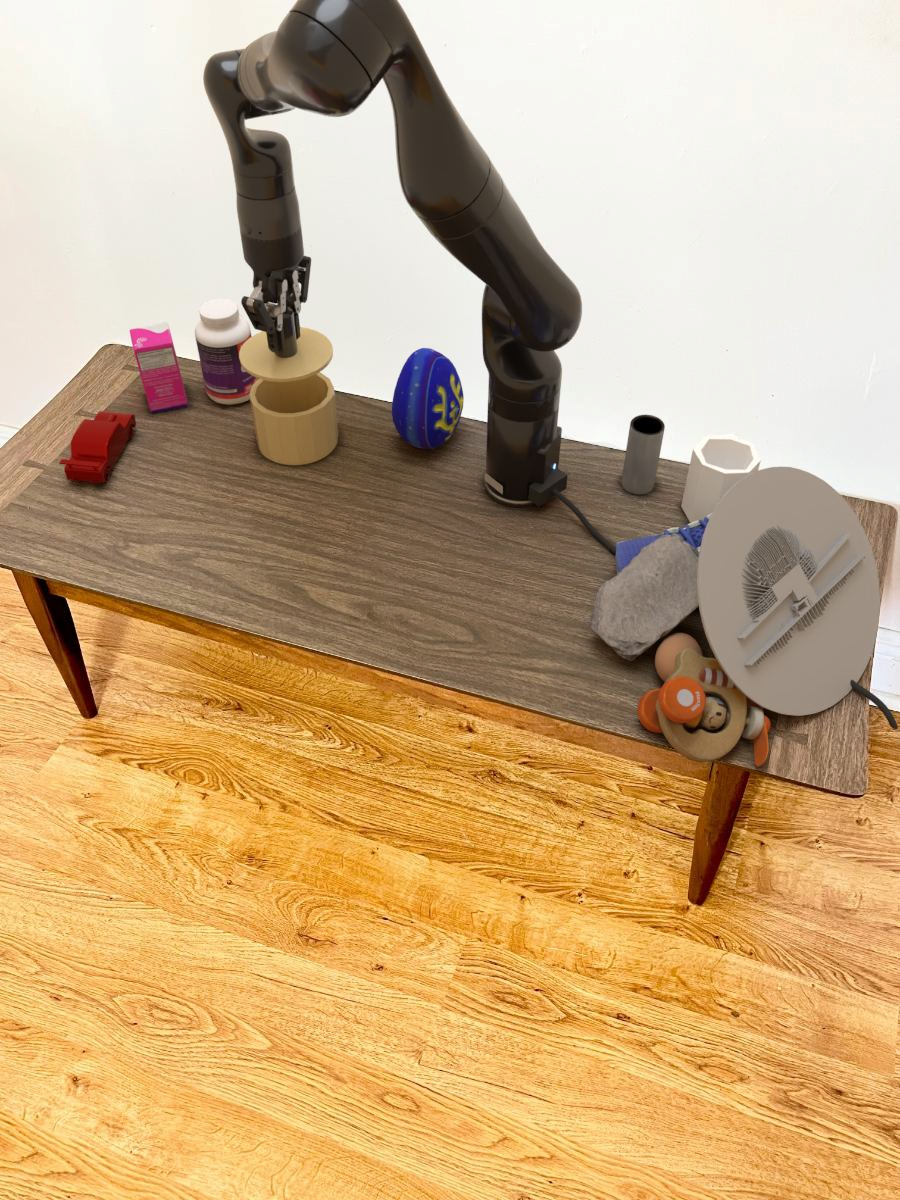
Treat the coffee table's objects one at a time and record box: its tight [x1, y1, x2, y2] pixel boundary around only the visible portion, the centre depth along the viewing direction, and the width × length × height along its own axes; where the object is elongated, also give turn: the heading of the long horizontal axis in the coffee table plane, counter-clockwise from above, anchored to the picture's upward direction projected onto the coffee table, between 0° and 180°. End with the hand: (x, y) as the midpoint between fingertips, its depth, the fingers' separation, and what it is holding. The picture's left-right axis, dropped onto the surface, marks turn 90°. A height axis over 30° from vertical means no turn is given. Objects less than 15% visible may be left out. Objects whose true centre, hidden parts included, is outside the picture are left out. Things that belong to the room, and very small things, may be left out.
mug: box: [680, 433, 762, 523], centre depth 142 cm, size 12×9×10 cm
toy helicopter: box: [636, 648, 771, 767], centre depth 118 cm, size 8×21×14 cm
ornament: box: [391, 347, 465, 450], centre depth 150 cm, size 11×9×15 cm
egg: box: [654, 632, 704, 683], centre depth 123 cm, size 5×5×7 cm
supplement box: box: [129, 321, 189, 414], centre depth 158 cm, size 6×6×12 cm
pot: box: [249, 371, 339, 466], centre depth 153 cm, size 12×12×8 cm
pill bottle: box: [194, 298, 259, 406], centre depth 159 cm, size 8×8×14 cm
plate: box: [697, 466, 881, 717], centre depth 120 cm, size 28×28×1 cm
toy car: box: [58, 410, 137, 485], centre depth 151 cm, size 14×6×5 cm, turn 172°
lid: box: [239, 306, 334, 382], centre depth 143 cm, size 13×13×7 cm
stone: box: [588, 534, 699, 662], centre depth 125 cm, size 15×5×10 cm
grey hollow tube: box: [621, 414, 666, 496], centre depth 145 cm, size 4×4×10 cm
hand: (285, 343), depth 144 cm, fingers closed on lid, 3 cm apart
